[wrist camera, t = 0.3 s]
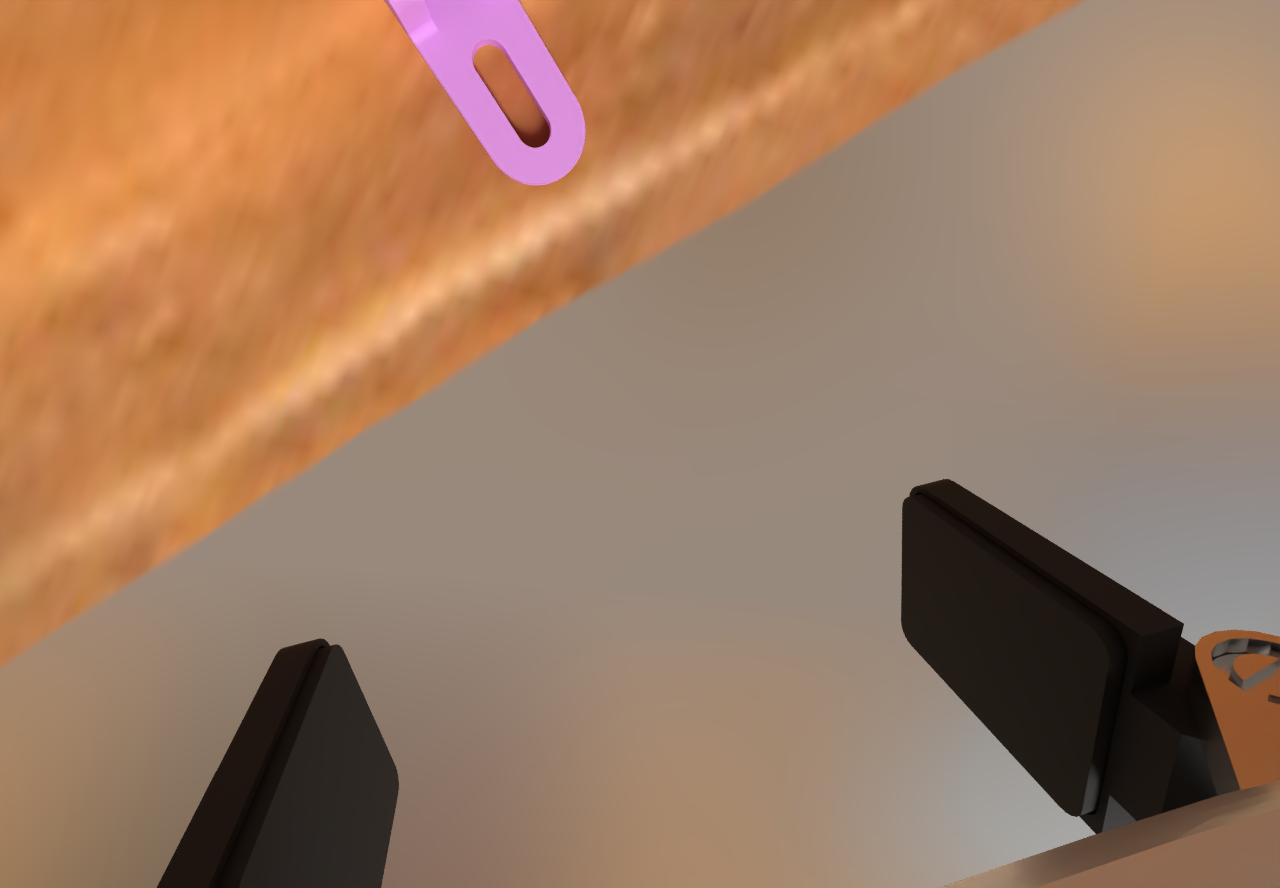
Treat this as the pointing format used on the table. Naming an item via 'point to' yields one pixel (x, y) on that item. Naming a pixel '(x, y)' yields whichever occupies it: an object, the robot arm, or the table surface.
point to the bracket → (447, 40)
